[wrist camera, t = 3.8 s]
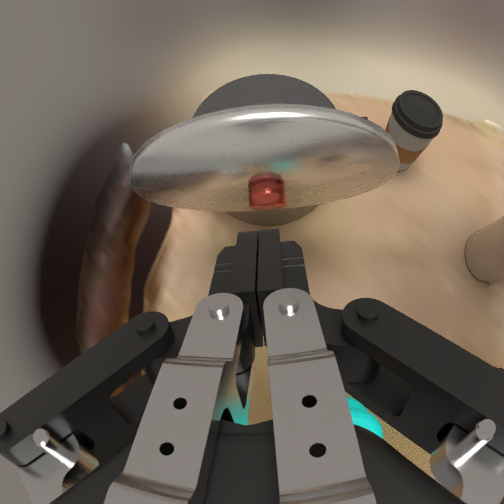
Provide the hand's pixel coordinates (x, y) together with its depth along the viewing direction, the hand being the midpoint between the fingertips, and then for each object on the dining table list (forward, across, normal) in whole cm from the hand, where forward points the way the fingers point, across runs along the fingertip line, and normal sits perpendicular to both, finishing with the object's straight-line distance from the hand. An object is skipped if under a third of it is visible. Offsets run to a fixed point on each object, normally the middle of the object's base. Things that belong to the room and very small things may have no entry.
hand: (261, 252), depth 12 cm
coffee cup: (+43, -23, +9) cm, 50 cm away
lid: (+17, 0, +2) cm, 17 cm away
